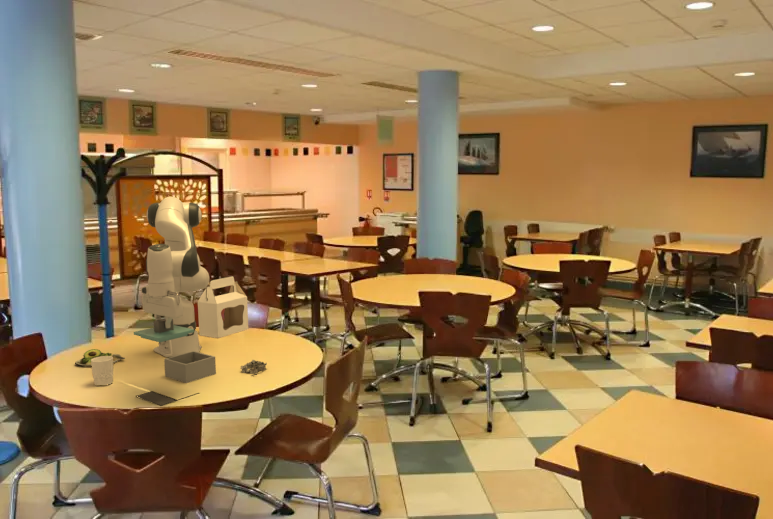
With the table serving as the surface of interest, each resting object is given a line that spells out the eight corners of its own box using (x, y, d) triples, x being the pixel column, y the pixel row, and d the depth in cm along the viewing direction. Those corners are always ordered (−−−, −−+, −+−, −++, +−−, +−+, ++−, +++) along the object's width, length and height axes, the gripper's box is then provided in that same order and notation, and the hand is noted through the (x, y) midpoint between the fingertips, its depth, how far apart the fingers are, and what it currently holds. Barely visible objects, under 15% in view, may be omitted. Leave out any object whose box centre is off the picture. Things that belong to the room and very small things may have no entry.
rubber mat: (135, 396, 237) (135, 395, 237) (173, 385, 249) (173, 384, 249) (161, 406, 227) (161, 404, 227) (199, 393, 240) (199, 392, 240)
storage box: (165, 378, 258) (164, 358, 257) (194, 369, 269) (193, 350, 268) (186, 385, 249) (185, 364, 248) (216, 375, 260) (215, 356, 259)
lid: (133, 337, 234) (132, 321, 233) (170, 329, 246) (169, 313, 245) (158, 344, 225) (157, 326, 224) (194, 335, 237) (193, 318, 236)
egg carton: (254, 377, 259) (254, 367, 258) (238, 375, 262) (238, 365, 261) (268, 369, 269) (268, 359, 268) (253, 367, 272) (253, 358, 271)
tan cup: (96, 380, 256) (95, 356, 254) (117, 380, 256) (115, 355, 255) (89, 387, 248) (87, 362, 246) (110, 386, 249) (109, 361, 247)
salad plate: (133, 356, 290) (133, 346, 289) (113, 369, 272) (112, 358, 271) (92, 356, 292) (92, 346, 291) (69, 368, 274) (69, 357, 273)
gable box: (230, 326, 344) (228, 274, 340) (249, 329, 337) (246, 276, 334) (198, 335, 325) (195, 280, 321) (217, 338, 318) (215, 282, 315)
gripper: (186, 291, 229) (188, 329, 231) (153, 285, 241) (155, 321, 243) (171, 294, 224) (173, 332, 226) (137, 288, 237) (140, 325, 238)
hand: (163, 327), depth 235 cm, fingers closed on lid, 3 cm apart
